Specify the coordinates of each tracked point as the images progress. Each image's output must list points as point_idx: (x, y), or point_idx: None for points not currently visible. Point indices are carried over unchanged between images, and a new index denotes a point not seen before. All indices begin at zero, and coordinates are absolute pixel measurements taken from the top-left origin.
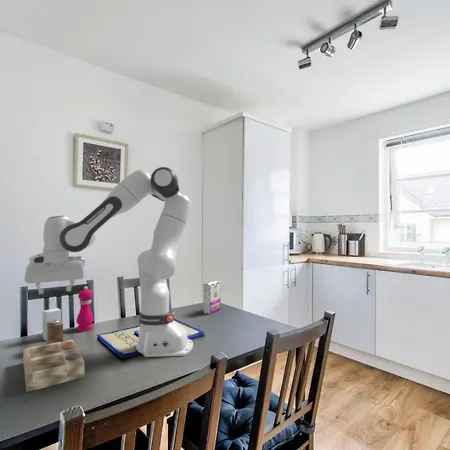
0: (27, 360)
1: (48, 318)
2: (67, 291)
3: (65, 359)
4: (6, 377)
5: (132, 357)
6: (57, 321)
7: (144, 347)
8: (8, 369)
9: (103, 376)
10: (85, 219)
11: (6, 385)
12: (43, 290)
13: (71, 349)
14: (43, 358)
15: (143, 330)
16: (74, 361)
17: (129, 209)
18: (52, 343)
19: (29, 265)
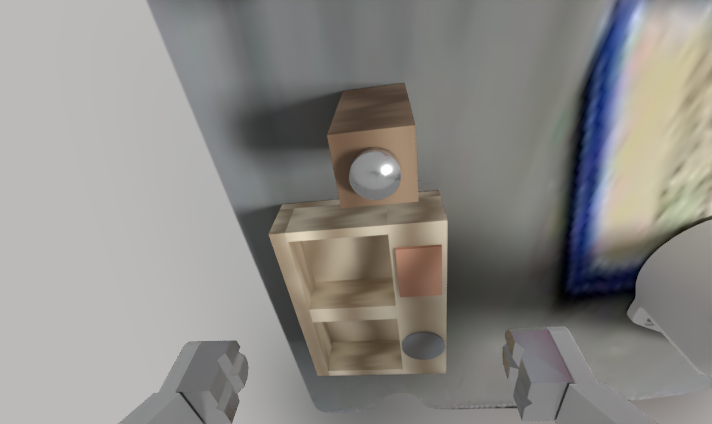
0: (303, 317)
1: None
2: (509, 353)
3: (402, 348)
4: (261, 269)
5: (594, 300)
6: (388, 195)
7: (652, 321)
8: (250, 227)
9: (479, 348)
10: None
11: (275, 302)
12: (235, 411)
13: (427, 301)
14: (345, 320)
15: (708, 356)
16: (423, 363)
17: None
18: (367, 227)
19: None
